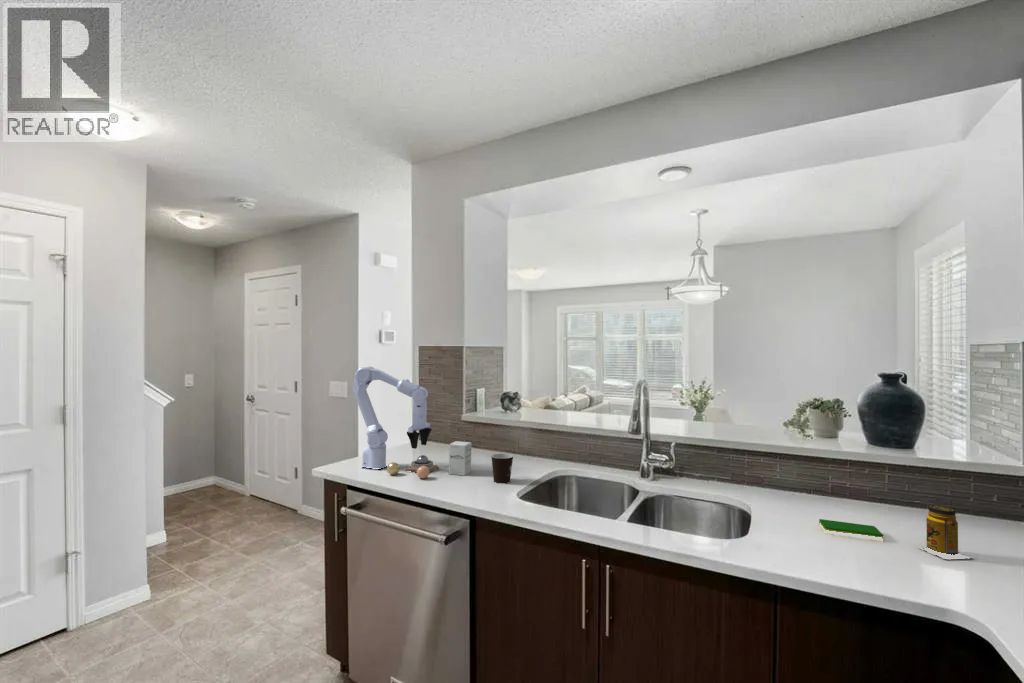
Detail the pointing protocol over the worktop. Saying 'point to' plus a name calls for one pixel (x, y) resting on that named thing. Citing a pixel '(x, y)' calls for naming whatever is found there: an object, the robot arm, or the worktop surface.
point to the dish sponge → (850, 528)
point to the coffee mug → (502, 467)
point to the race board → (415, 466)
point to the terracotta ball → (422, 472)
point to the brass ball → (393, 468)
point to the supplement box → (460, 458)
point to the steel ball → (422, 460)
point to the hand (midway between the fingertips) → (419, 446)
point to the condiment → (942, 530)
